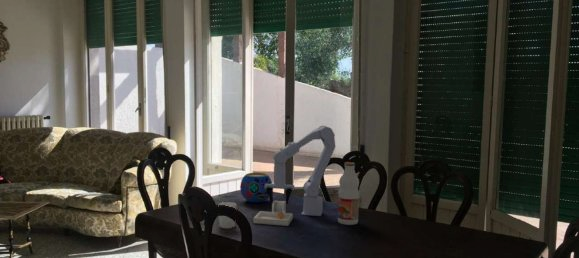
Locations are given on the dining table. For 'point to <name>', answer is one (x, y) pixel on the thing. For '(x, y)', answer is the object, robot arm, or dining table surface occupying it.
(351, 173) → the fruit juice
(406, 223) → the dining table surface
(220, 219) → the white cup
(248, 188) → the ceramic pot
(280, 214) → the ball
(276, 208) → the silver open box
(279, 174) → the robot arm
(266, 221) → the tray
